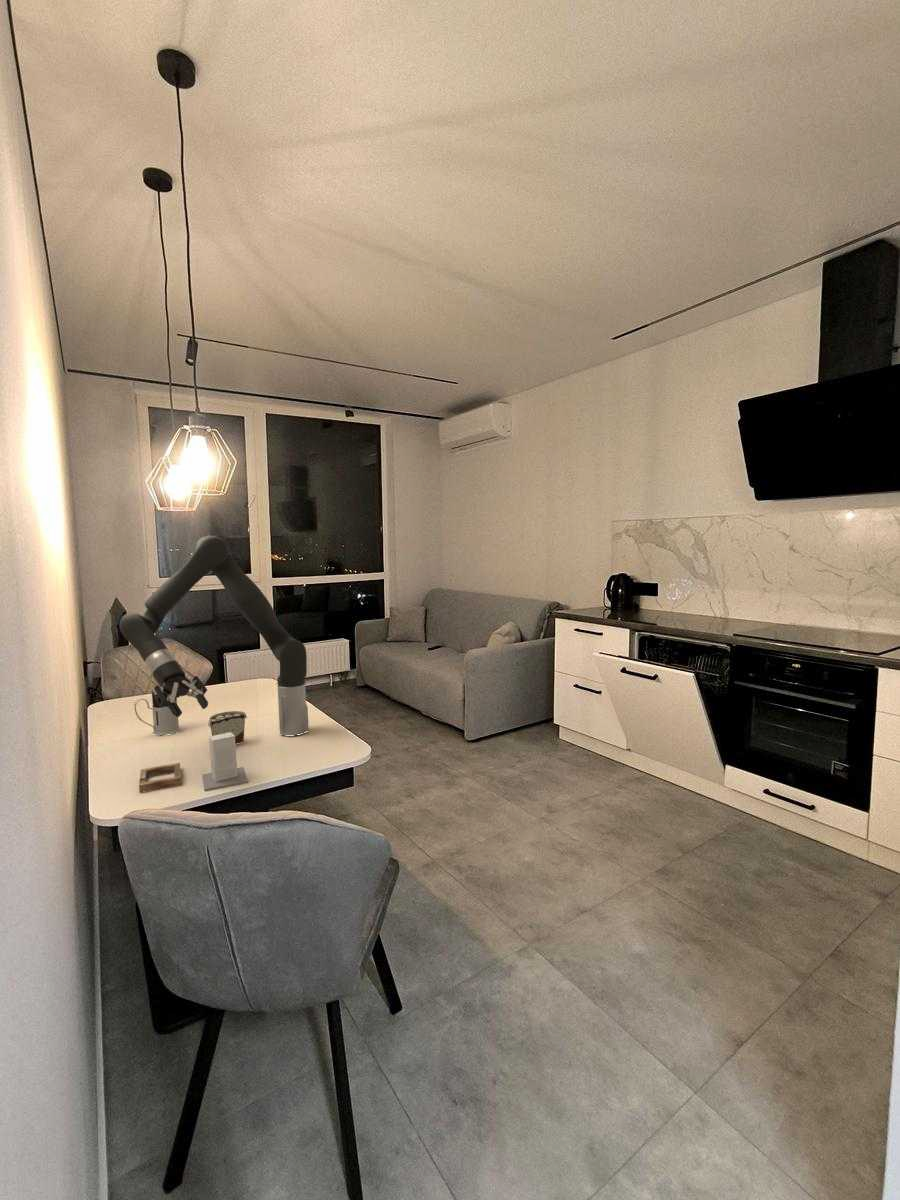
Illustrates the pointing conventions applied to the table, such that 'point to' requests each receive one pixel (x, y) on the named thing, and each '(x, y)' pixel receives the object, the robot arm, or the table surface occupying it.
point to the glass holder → (162, 718)
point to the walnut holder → (162, 782)
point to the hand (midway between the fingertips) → (193, 711)
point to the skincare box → (223, 756)
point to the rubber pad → (211, 784)
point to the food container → (229, 724)
